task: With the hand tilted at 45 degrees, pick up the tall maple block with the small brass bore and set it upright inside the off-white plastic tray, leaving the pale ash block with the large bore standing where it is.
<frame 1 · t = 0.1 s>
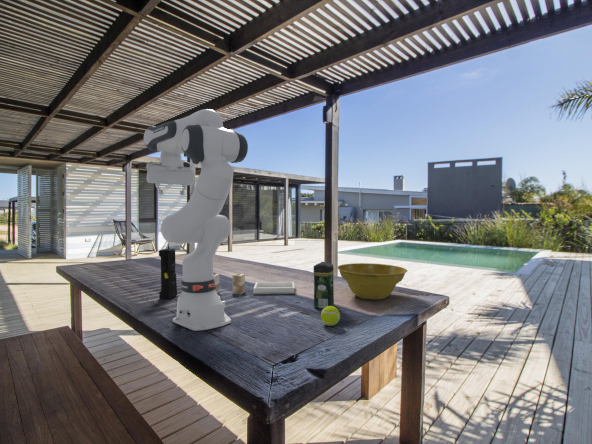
hand: (171, 194, 142), 48 cm above the table, tool pointing down, fingers open, 8 cm apart
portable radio: (168, 297, 147), on the table
planter bowl: (371, 296, 148), on the table
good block: (213, 292, 156), on the table
coffee jar: (323, 306, 132), on the table
tray: (274, 290, 160), on the table
tennis ball: (330, 326, 109), on the table
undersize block: (238, 292, 156), on the table
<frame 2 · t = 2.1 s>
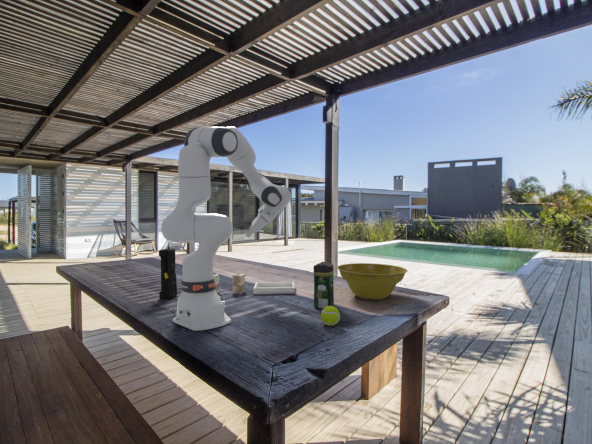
hand: (247, 234, 155), 29 cm above the table, tool tilted 45°, fingers open, 8 cm apart
nothing on the table moved.
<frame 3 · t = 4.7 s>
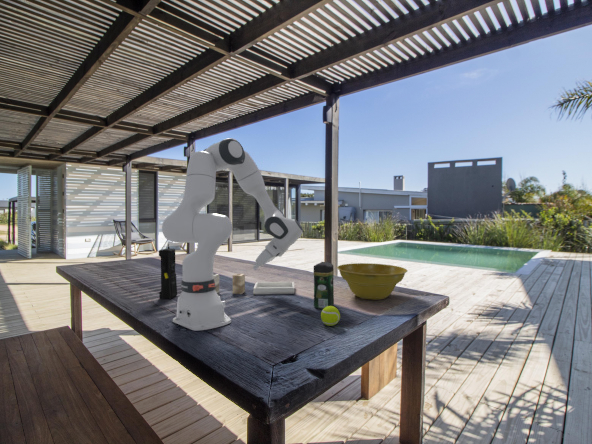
hand: (257, 267, 154), 13 cm above the table, tool tilted 45°, fingers open, 8 cm apart
nothing on the table moved.
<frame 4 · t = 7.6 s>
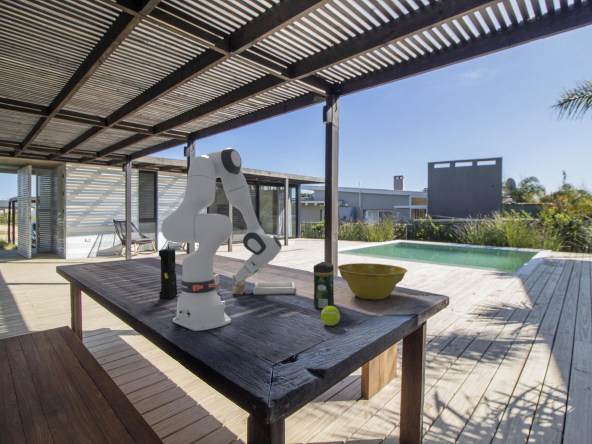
hand: (237, 282, 156), 5 cm above the table, tool tilted 45°, fingers closed on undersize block, 5 cm apart
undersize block: (238, 292, 156), on the table, touching gripper
everything else where it was.
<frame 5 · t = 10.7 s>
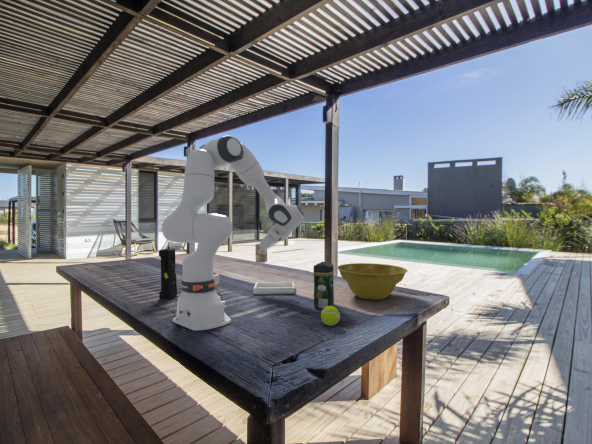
hand: (260, 252, 159), 20 cm above the table, tool tilted 45°, fingers closed on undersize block, 5 cm apart
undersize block: (261, 261, 159), point 15 cm above the table, touching gripper
everything else where it was.
when the fingers open (7 cm above the table, at t = 13.9 s): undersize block drops 1 cm, resting on tray.
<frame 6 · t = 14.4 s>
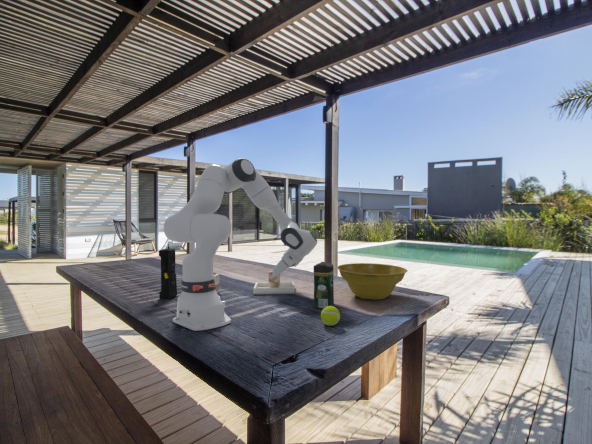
hand: (273, 276, 160), 7 cm above the table, tool tilted 45°, fingers open, 8 cm apart
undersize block: (274, 289, 160), point 1 cm above the table, touching tray
everything else where it was.
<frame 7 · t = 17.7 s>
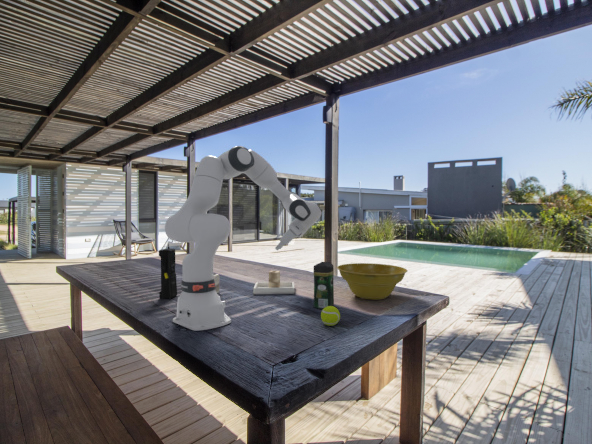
hand: (277, 248, 160), 21 cm above the table, tool tilted 45°, fingers open, 8 cm apart
nothing on the table moved.
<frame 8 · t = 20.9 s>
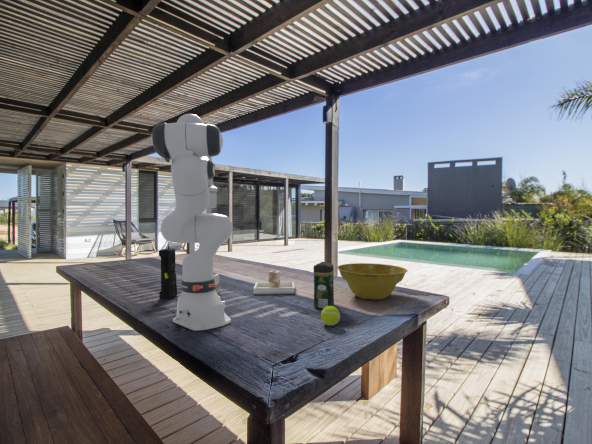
hand: (204, 218, 151), 37 cm above the table, tool pointing down, fingers open, 8 cm apart
nothing on the table moved.
at the end: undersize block 0.1 cm from the tray (horizontally); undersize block tilted 0°; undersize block touching tray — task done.
